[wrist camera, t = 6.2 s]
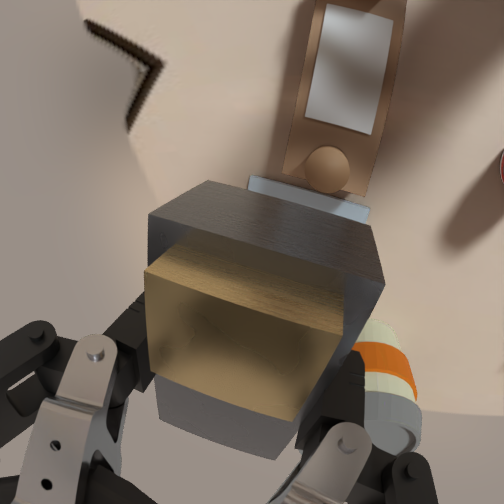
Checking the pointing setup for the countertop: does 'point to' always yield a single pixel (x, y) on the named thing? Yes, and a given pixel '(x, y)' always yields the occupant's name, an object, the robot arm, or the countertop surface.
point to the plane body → (344, 93)
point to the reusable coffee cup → (388, 391)
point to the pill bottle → (502, 167)
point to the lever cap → (252, 311)
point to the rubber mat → (309, 198)
